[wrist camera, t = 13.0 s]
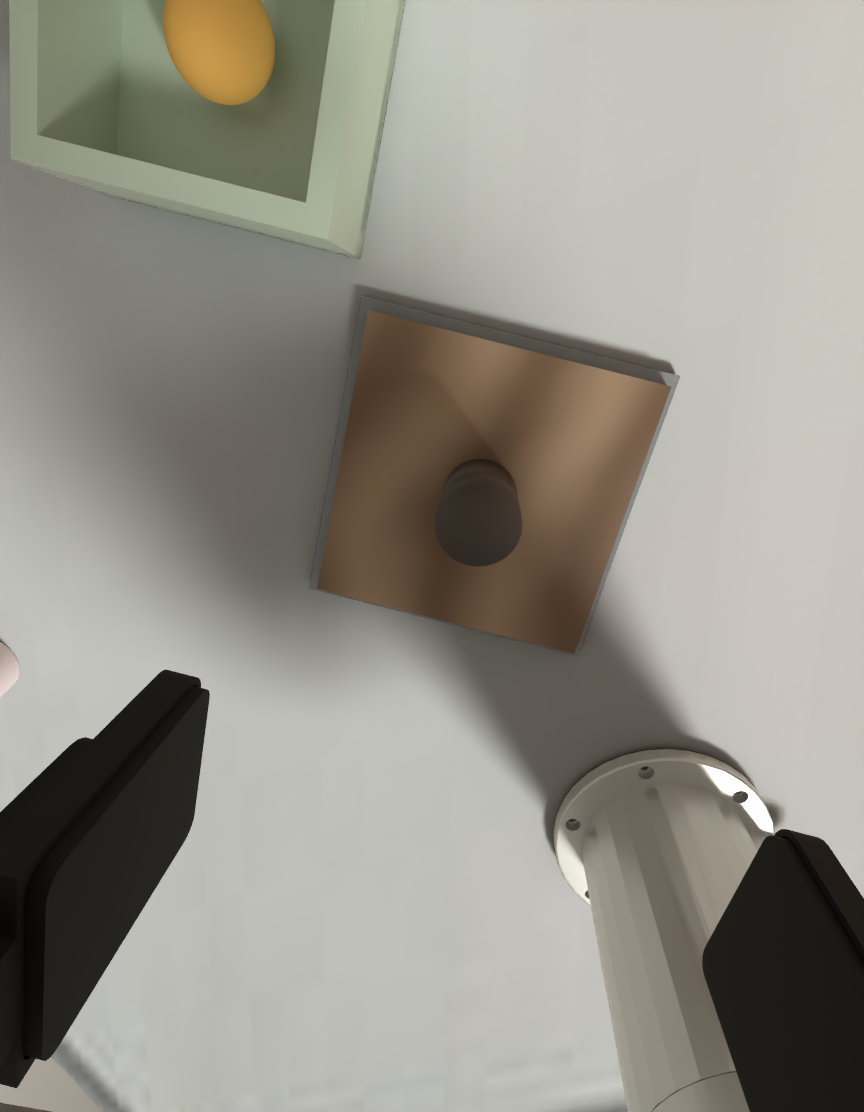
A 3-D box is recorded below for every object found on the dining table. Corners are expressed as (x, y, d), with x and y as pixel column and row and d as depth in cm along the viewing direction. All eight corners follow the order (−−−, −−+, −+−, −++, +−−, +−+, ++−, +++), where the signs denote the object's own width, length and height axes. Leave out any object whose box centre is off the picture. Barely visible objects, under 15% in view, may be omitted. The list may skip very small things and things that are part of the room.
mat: (676, 375, 29) (680, 376, 28) (576, 650, 34) (577, 656, 33) (364, 296, 29) (361, 295, 28) (312, 583, 34) (309, 587, 33)
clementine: (295, 14, 24) (260, -45, 21) (280, 130, 26) (245, 94, 22) (198, -11, 24) (145, -74, 21) (188, 106, 26) (137, 67, 22)
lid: (666, 385, 28) (709, 397, 23) (572, 646, 33) (589, 707, 28) (371, 310, 28) (343, 304, 23) (320, 582, 33) (287, 631, 28)
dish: (418, -73, 24) (397, -198, 18) (359, 258, 28) (328, 239, 22) (120, -149, 24) (6, -297, 18) (105, 194, 28) (10, 159, 23)
